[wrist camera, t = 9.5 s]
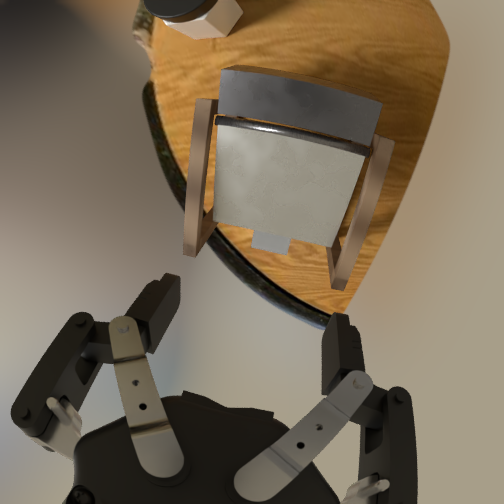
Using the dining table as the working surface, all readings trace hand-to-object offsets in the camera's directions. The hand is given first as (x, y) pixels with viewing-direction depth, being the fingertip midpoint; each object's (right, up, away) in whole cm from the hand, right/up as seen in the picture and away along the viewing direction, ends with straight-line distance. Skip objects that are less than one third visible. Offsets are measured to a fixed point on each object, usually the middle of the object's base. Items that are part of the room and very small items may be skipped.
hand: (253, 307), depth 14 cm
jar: (-6, +35, +13) cm, 38 cm away
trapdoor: (+4, +13, +14) cm, 19 cm away
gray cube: (+3, +8, +24) cm, 26 cm away
